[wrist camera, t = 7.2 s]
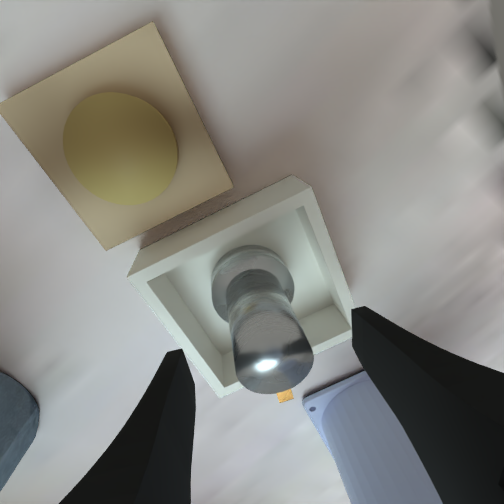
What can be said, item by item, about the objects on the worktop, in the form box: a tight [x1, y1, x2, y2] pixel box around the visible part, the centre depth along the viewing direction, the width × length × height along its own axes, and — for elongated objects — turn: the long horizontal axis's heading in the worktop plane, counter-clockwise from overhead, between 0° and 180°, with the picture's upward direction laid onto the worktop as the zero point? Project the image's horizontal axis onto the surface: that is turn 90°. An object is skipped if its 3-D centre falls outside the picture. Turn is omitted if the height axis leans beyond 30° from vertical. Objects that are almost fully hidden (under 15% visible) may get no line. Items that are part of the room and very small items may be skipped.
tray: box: [127, 175, 356, 398], centre depth 16 cm, size 9×9×3 cm
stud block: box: [0, 21, 234, 251], centre depth 13 cm, size 7×7×2 cm
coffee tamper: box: [211, 245, 314, 403], centre depth 14 cm, size 4×4×6 cm
